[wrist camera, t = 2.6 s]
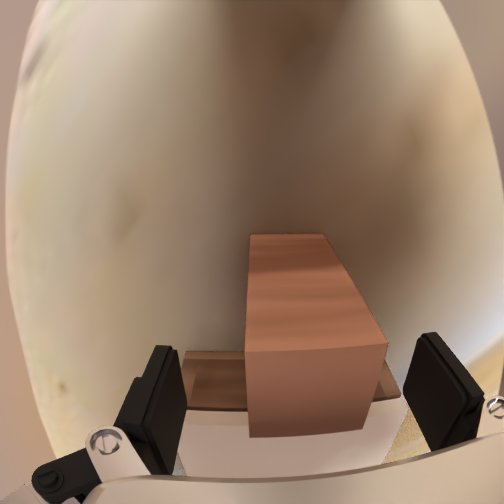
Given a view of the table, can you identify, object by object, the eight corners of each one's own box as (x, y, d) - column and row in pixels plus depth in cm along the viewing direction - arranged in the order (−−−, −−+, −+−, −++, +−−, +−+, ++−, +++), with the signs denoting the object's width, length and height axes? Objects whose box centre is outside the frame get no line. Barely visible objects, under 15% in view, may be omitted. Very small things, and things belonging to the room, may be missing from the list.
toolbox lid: (170, 408, 15) (157, 458, 12) (402, 397, 15) (423, 442, 12) (210, 518, 22) (207, 547, 19) (345, 512, 22) (350, 540, 18)
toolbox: (186, 351, 20) (171, 404, 16) (377, 344, 20) (401, 393, 16) (214, 477, 27) (210, 515, 22) (338, 471, 27) (345, 509, 22)
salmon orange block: (250, 234, 17) (244, 351, 8) (322, 233, 17) (388, 342, 8) (252, 298, 19) (249, 437, 10) (318, 297, 19) (362, 429, 10)
